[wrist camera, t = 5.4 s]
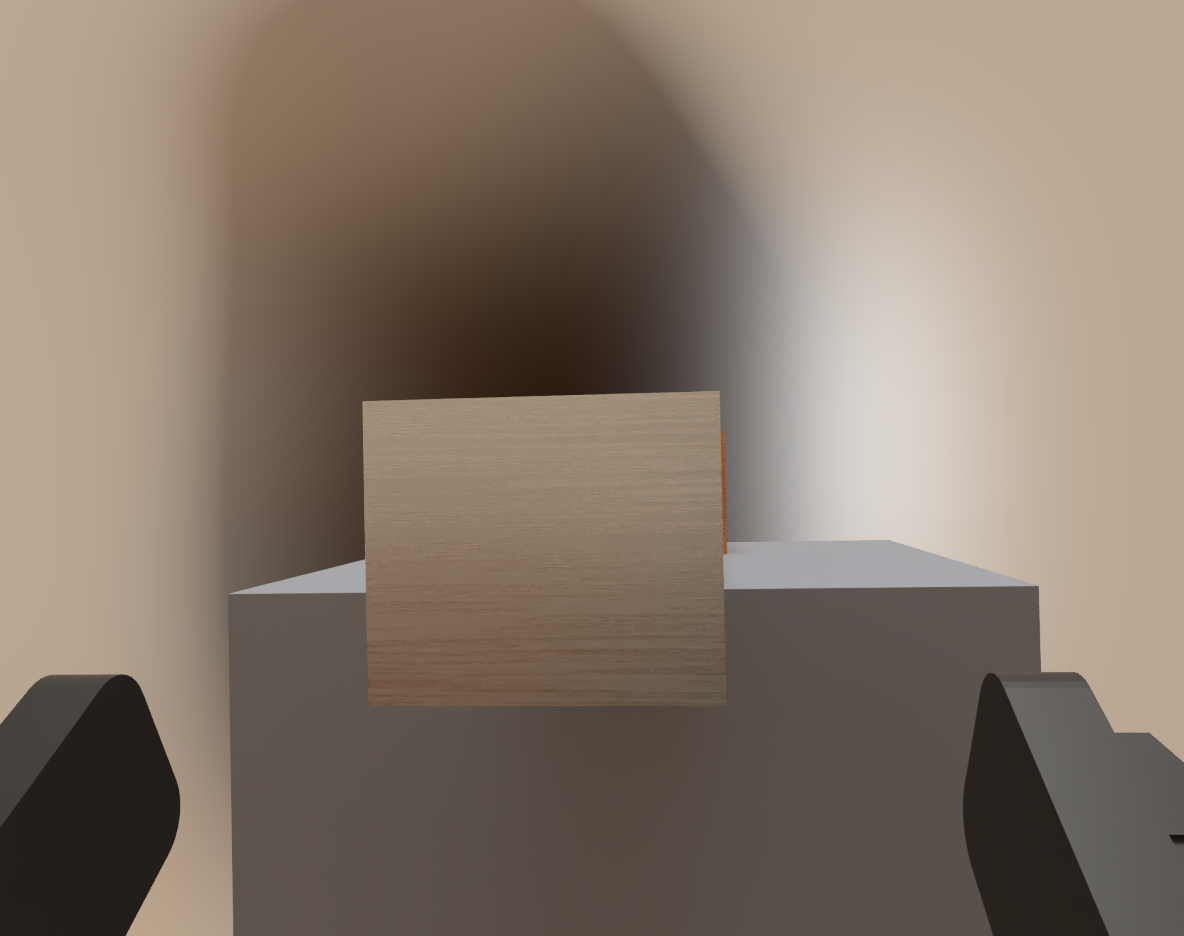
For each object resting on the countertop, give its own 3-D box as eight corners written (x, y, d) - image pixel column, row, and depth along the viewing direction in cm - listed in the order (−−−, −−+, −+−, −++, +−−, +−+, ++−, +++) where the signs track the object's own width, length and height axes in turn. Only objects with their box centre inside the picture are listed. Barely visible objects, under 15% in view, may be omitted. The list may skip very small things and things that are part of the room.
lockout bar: (572, 544, 34) (570, 442, 34) (721, 542, 33) (718, 438, 33) (294, 706, 10) (287, 353, 10) (807, 706, 9) (798, 336, 9)
